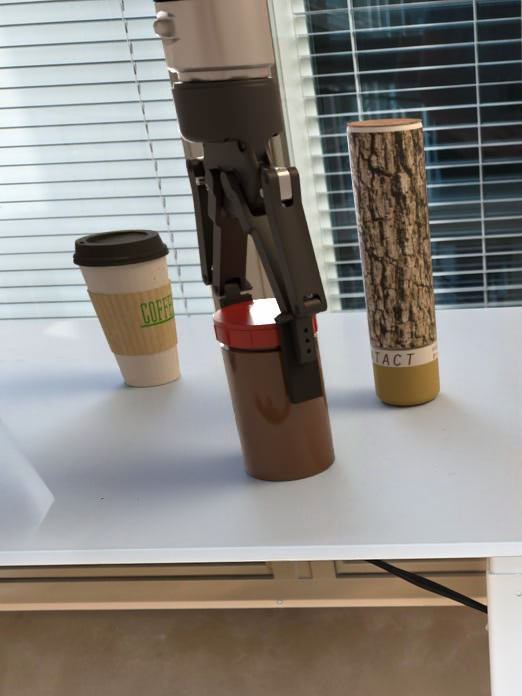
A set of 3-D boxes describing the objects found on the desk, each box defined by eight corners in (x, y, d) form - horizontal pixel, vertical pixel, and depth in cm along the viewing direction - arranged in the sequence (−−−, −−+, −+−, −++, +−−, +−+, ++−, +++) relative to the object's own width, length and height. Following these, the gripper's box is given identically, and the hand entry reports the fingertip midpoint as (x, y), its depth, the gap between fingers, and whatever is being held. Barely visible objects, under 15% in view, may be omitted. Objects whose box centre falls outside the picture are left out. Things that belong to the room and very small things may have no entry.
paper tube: (404, 382, 97) (380, 118, 83) (453, 392, 93) (437, 118, 79) (362, 401, 92) (329, 125, 78) (413, 412, 89) (388, 126, 75)
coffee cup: (209, 379, 101) (177, 236, 92) (122, 398, 96) (80, 251, 88) (180, 359, 107) (149, 224, 99) (98, 376, 103) (57, 237, 94)
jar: (243, 485, 76) (212, 338, 69) (247, 450, 83) (220, 312, 76) (336, 475, 77) (315, 329, 70) (333, 441, 84) (314, 304, 76)
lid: (318, 343, 70) (315, 319, 69) (212, 352, 70) (207, 329, 68) (317, 316, 77) (314, 294, 76) (221, 324, 76) (216, 302, 75)
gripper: (114, 78, 68) (182, 367, 81) (247, 79, 54) (304, 430, 67) (204, 72, 72) (255, 349, 85) (350, 71, 58) (385, 405, 71)
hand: (277, 385), depth 76 cm, fingers open, 9 cm apart
